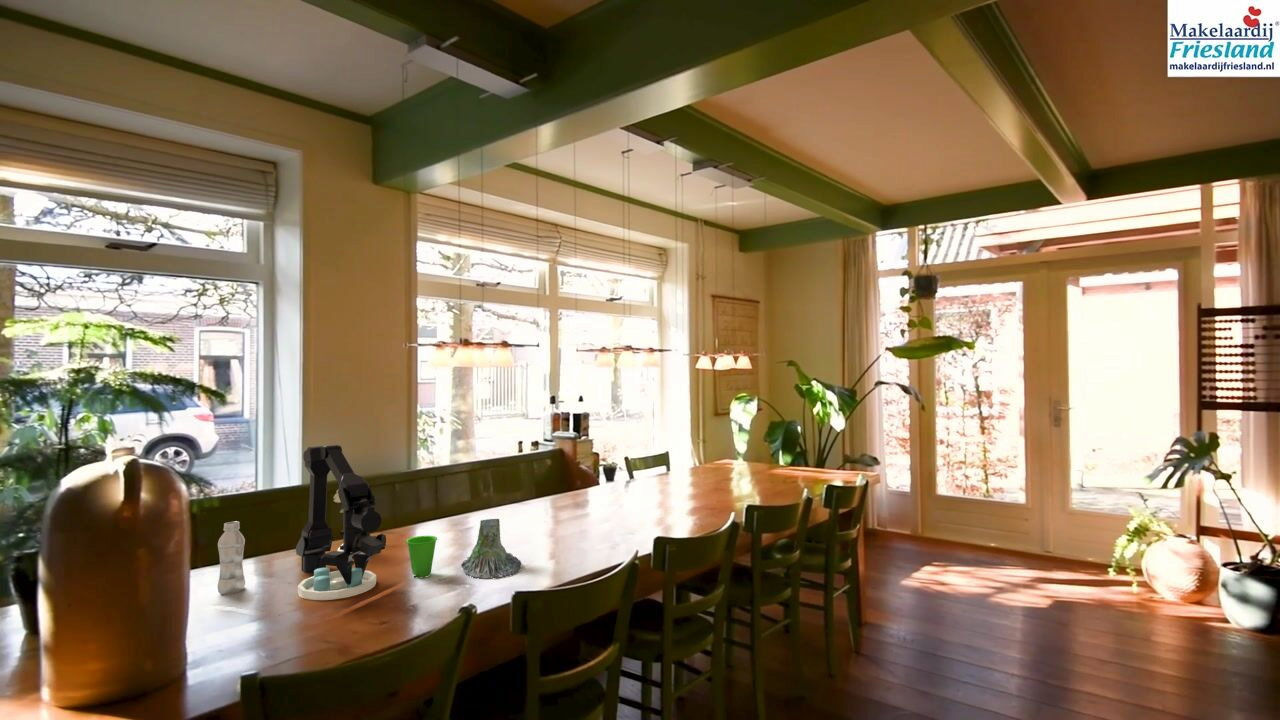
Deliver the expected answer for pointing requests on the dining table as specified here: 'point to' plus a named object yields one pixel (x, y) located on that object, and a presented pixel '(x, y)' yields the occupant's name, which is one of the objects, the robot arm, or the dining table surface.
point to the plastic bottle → (231, 559)
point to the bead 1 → (322, 583)
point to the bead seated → (321, 572)
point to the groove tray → (335, 593)
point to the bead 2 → (356, 577)
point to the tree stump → (490, 554)
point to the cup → (421, 554)
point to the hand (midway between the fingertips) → (354, 582)
